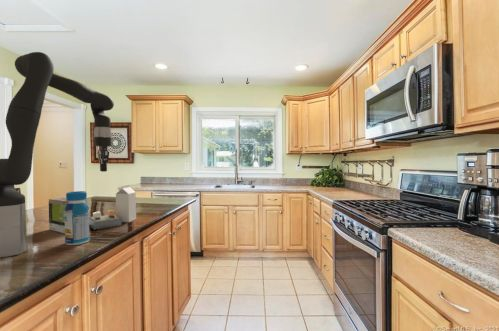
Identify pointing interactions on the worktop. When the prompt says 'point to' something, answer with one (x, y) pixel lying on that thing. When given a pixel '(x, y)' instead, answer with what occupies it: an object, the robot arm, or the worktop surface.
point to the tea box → (57, 214)
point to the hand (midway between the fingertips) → (103, 171)
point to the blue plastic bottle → (76, 218)
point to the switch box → (104, 221)
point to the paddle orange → (111, 212)
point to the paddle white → (97, 214)
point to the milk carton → (126, 204)
